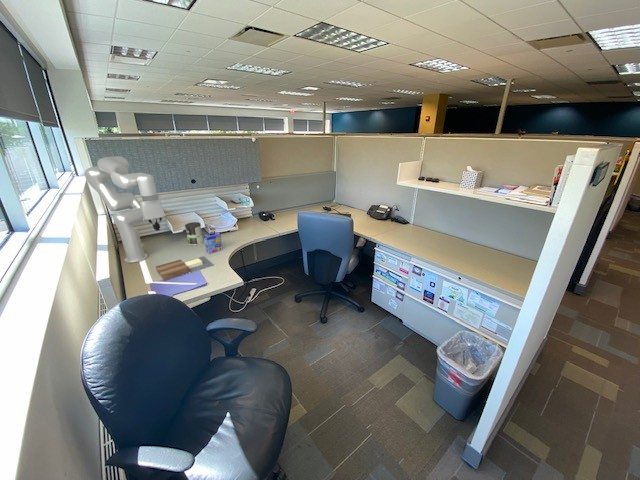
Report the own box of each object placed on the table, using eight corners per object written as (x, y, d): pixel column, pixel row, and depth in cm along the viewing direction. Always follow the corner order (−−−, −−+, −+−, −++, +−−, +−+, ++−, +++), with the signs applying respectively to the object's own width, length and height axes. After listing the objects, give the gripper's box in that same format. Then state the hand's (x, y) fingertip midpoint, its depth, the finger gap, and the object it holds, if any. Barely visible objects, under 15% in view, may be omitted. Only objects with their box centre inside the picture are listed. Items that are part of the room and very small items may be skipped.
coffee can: (190, 246, 195) (186, 227, 189) (186, 241, 202) (183, 223, 197) (205, 243, 200) (202, 225, 195) (201, 238, 208) (198, 221, 203)
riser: (156, 271, 162) (155, 266, 161) (181, 263, 171) (180, 259, 170) (164, 280, 152) (163, 276, 151) (190, 272, 161) (189, 267, 160)
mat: (181, 263, 171) (181, 262, 171) (203, 256, 180) (203, 256, 180) (190, 272, 160) (190, 272, 160) (213, 265, 169) (213, 264, 169)
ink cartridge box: (209, 254, 183) (206, 234, 178) (205, 251, 187) (202, 232, 181) (223, 249, 190) (220, 230, 184) (219, 247, 193) (216, 228, 188)
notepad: (184, 265, 168) (183, 262, 167) (199, 261, 174) (198, 258, 173) (187, 269, 164) (187, 266, 163) (202, 264, 169) (202, 261, 169)
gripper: (162, 194, 155) (169, 225, 162) (132, 199, 145) (140, 231, 152) (167, 197, 150) (173, 228, 157) (135, 201, 140) (143, 235, 147)
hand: (157, 229), depth 155 cm, fingers closed
